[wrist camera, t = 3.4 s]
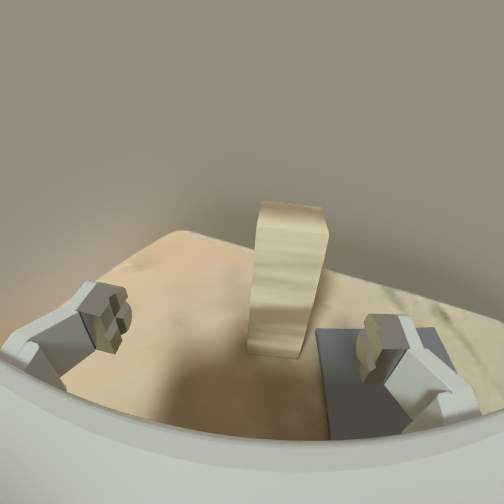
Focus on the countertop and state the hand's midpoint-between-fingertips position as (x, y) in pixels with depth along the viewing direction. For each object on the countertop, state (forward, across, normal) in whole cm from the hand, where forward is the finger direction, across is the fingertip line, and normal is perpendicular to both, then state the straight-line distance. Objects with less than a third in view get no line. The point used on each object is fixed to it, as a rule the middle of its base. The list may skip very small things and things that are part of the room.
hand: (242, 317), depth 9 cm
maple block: (+11, +2, -13) cm, 17 cm away
